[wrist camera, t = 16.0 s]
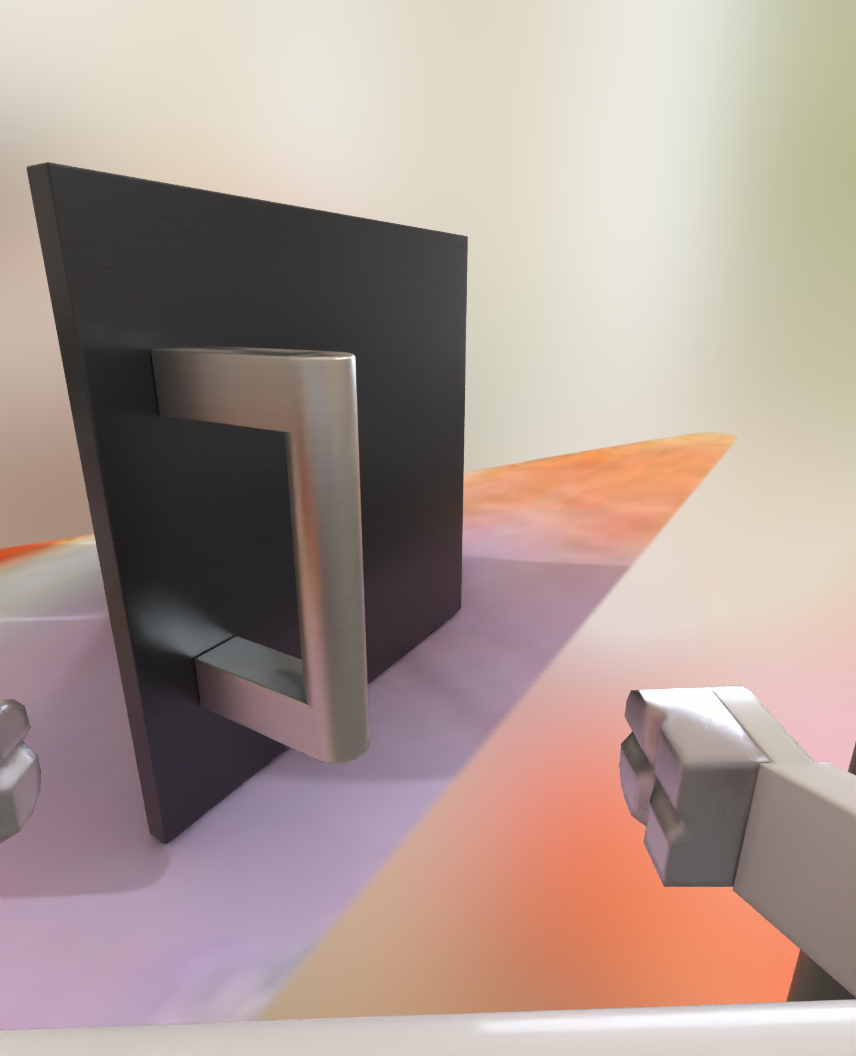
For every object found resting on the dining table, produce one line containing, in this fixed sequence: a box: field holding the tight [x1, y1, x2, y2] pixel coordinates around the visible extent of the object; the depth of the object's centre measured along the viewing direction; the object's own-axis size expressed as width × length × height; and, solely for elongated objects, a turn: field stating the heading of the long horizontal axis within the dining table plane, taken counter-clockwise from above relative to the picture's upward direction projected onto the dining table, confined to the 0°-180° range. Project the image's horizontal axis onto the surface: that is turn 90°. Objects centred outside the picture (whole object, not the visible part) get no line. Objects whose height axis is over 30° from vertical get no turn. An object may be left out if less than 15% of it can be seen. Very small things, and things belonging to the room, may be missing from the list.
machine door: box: [27, 162, 468, 844], centre depth 21 cm, size 6×18×17 cm, turn 149°
